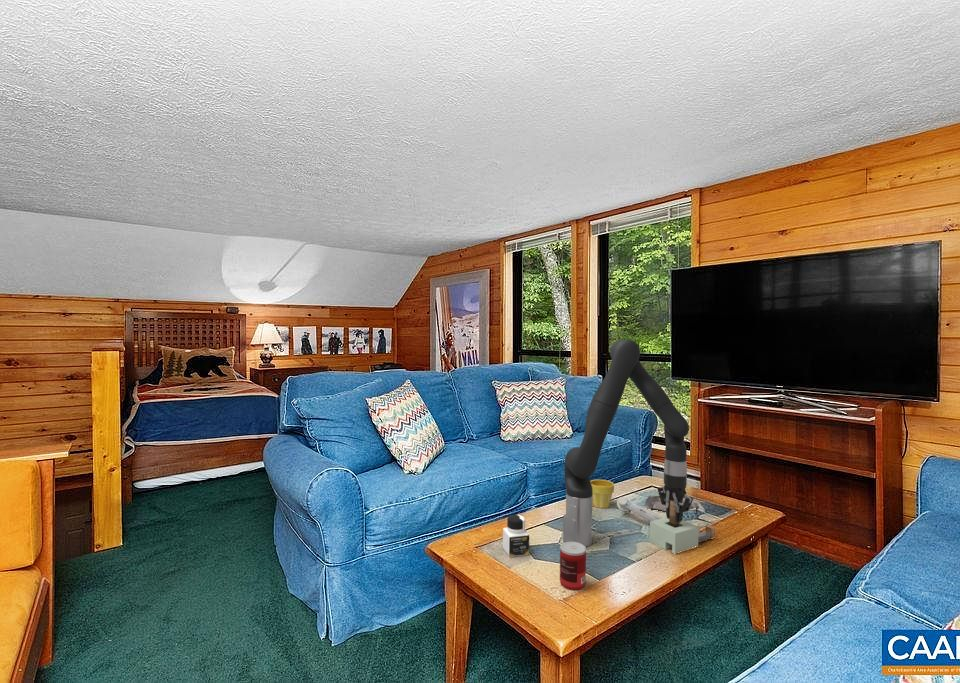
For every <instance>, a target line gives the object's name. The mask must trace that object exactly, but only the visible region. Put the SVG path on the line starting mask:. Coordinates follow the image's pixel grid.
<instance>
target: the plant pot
mask: <svg viewBox="0 0 960 683" xmlns="http://www.w3.org/2000/svg"><path fill="white" fill-rule="evenodd" d="M590 482H591V485H592V488H593V500H592V506H594V507H596V508H599V509H608V508H610V504H611V500H612V499H611V498H612V496H613V493H614V492H615V484H614V482H612V481H610V480H606V479H592V480H591V479H590Z"/></svg>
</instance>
